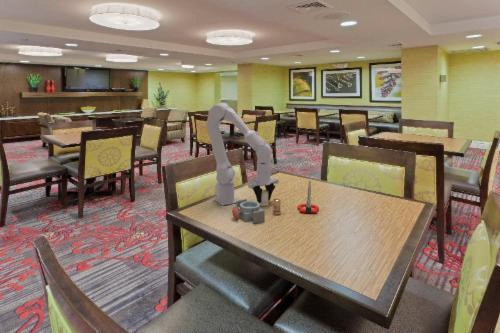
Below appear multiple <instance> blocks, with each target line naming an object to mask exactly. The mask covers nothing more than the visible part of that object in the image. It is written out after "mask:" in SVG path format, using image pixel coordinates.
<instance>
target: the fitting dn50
mask: <svg viewBox="0 0 500 333" xmlns="http://www.w3.org/2000/svg"><path fill="white" fill-rule="evenodd" d="M258 203H259V202H258ZM267 206H270V201H268V190H266V189H262V193H261V203H260V207H267Z"/></svg>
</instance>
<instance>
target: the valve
mask: <svg viewBox="0 0 500 333" xmlns="http://www.w3.org/2000/svg"><path fill="white" fill-rule="evenodd" d="M235 204H236V207H233V208H232V211H231V212H232V217H233V218H234V220H238V219H239V218H240V219H242V220H243V221H245V222H251V221H252V224H254V225H256V224H260V223H264V222H265V220H266V219H265V216H266V215H265V214H266V213H265V212H266V211H265V210H264V209H263V208H261V206H260V203H258V202H257V201H255V200H253V201H252V200H248V199H247V198H245V199H240V200H237V201H236V203H235Z"/></svg>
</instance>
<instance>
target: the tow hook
mask: <svg viewBox="0 0 500 333" xmlns="http://www.w3.org/2000/svg"><path fill="white" fill-rule="evenodd" d="M311 194H312V180H308V186H307V200H306V203H301V204H299V205H297V208H296V209H297V210H298V211H299V213H300V214H306V215H307V214H313V215H315V214H316V215H317V214H318V211H320V207H319V206H318V205H315V204H312V200H311V197H312V196H311ZM312 208H313V209H312Z"/></svg>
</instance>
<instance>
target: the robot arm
mask: <svg viewBox="0 0 500 333" xmlns="http://www.w3.org/2000/svg"><path fill="white" fill-rule="evenodd" d="M223 121H227V122H231V123H232V124H233V125H234V126H235V127H236V128H237V129H238V131H240V133H242V134H243V135H244V136H243V137H244V139H243V140H244V141H245V142H246V143H247V144H248V145H249V146H250V147H251V148H252V150H253V151H255V156H257V161H256V167H257V168H256V180H254V181H252V182H248V183H247V187H248V188H249V189H252V191H253V192H254V194H255V198H256V202H259V203H261V193H262V190H263V188H261V187H262V186H264V188H265V190H268V201H269V202H270V200H271V198H272V194H273V192H274V190H275V189H276V185H278V184H279V181H280V180H279V178H276V177H275V178H271V155H270V154H271V152H272V146H270V145H271V144H269V143H268V142H267V141H266V140H263V138H262V137H261V136H260V135H259V134H260V133H259V132H258V131H255V130H254V129H250V128H249V127H248V126H247V124H246V123H245V122H244V121H243V120H242V119H241V117H240V116H239V115H238V113H236V111H235V110H234V109H233V108H232V107H230V105H229V104H228V103H226V102H220V103H214V104H213V105H212V106H211V107H210V108H209V110H208V116H207V120H206V126H205V127H206V130H207V133H208V136H209V140H210V145H211V148H212V151H213V154H214V159H215V163H216V169H215V171H216V181H217V182H216V183H215V187H214V188H215V198H213V200H214V201H216V202H217V203H218V204H220V205H221V206H225V205H226V206H227V205H231V204H232V205H233V204H236V201H238V200H236V199H235V180H234V177H235V175H236V172H235V168H233V166H232V163H231V162H230V161H229V159H228V156H227V151H226V148H225V143H224V139H223V137H222V132H221V130H220V125H221V124H222V122H223ZM275 184H276V185H275Z"/></svg>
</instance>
